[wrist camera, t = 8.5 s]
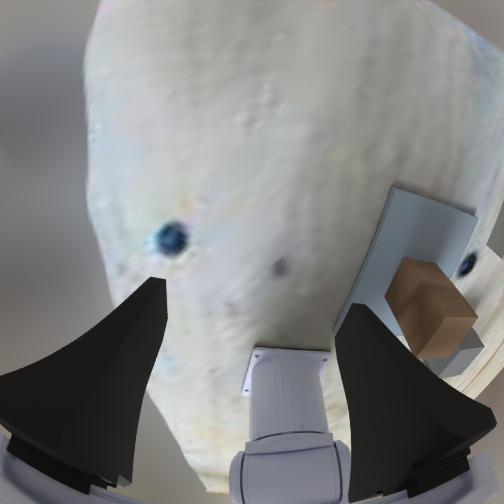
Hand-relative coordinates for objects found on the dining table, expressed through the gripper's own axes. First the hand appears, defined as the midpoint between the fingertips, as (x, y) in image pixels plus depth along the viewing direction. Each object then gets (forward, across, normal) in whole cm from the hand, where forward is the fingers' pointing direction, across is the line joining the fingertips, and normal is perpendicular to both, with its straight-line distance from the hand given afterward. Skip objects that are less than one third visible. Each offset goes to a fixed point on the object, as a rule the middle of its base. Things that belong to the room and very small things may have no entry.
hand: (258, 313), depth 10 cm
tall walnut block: (+9, -14, +3) cm, 17 cm away
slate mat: (+9, -14, +3) cm, 17 cm away
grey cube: (+10, -25, +10) cm, 29 cm away
